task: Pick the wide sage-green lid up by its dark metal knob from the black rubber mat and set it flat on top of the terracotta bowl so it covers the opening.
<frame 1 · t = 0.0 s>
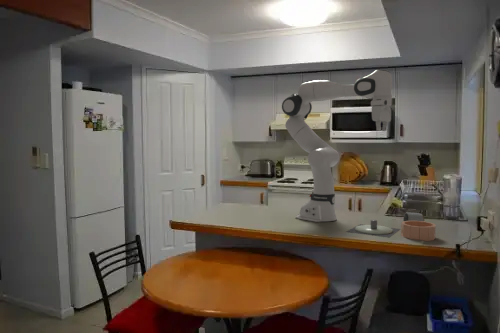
hand: (381, 130, 205), 48 cm above the table, tool pointing down, fingers open, 8 cm apart
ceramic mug: (412, 227, 206), on the table
bowl: (418, 237, 185), on the table
lid: (373, 230, 196), resting on mat
mat: (373, 231, 196), on the table
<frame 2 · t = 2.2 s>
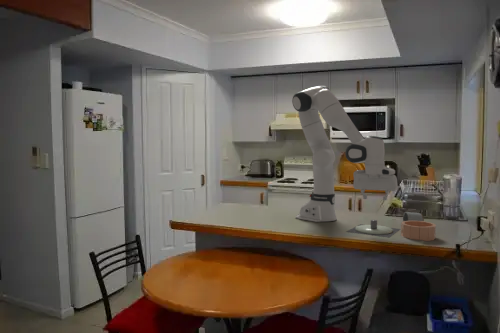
hand: (375, 199, 195), 15 cm above the table, tool pointing down, fingers open, 8 cm apart
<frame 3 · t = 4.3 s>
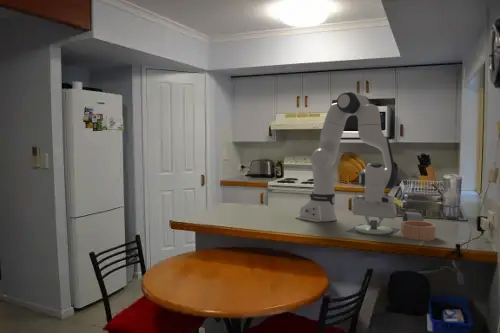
hand: (373, 226, 196), 3 cm above the table, tool pointing down, fingers closed on lid, 3 cm apart
lid: (373, 230, 196), point 1 cm above the table, touching gripper, mat
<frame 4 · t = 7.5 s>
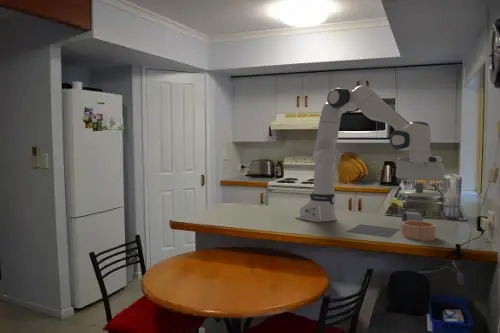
hand: (419, 188, 184), 22 cm above the table, tool pointing down, fingers closed on lid, 3 cm apart
lid: (419, 193, 184), point 20 cm above the table, touching gripper
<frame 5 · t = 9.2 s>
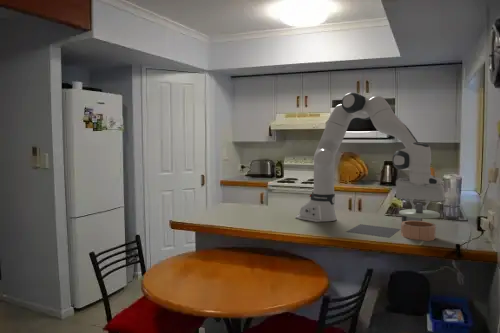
hand: (419, 209, 184), 12 cm above the table, tool pointing down, fingers closed on lid, 3 cm apart
lid: (419, 214, 184), point 10 cm above the table, touching gripper
when the fingers open (9 cm above the table, at t = 10.6 s): lid stays where it is, resting on bowl.
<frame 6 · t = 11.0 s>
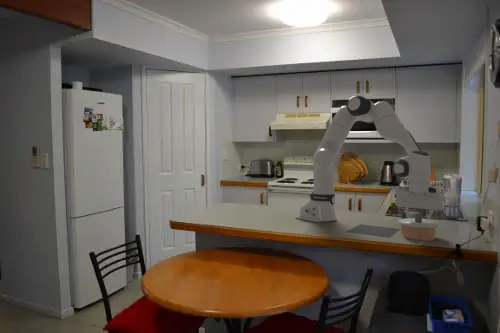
hand: (418, 218, 184), 9 cm above the table, tool pointing down, fingers open, 7 cm apart
lid: (418, 223, 185), point 6 cm above the table, touching bowl
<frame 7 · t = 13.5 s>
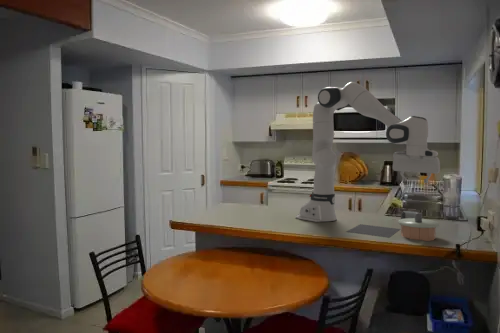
hand: (415, 182, 188), 24 cm above the table, tool pointing down, fingers open, 8 cm apart
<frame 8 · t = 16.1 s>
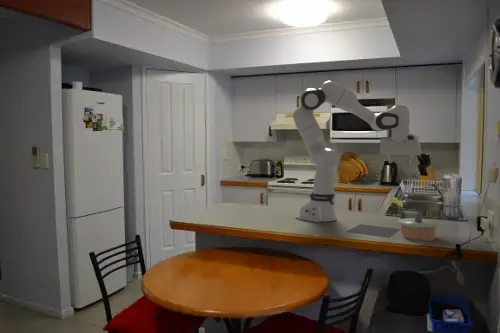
hand: (399, 163, 216), 31 cm above the table, tool pointing down, fingers open, 8 cm apart
at the end: lid 0.1 cm from the bowl (horizontally); lid point 6.0 cm above the table; lid tilted 0° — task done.
